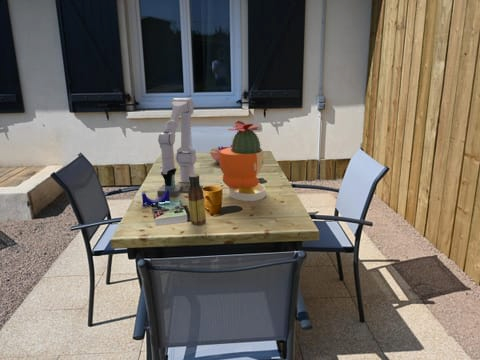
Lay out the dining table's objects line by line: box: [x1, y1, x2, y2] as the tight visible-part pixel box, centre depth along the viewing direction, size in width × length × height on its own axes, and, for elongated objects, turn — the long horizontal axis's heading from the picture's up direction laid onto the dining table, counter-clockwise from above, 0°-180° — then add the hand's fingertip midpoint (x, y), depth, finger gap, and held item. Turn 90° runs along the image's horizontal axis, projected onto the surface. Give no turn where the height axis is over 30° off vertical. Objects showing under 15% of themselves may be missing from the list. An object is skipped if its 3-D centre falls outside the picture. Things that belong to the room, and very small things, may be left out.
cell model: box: [209, 144, 232, 164], centre depth 258 cm, size 17×20×11 cm
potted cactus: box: [219, 120, 266, 202], centre depth 193 cm, size 22×22×35 cm
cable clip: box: [141, 189, 171, 207], centre depth 188 cm, size 12×4×6 cm, turn 106°
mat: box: [181, 185, 204, 194], centre depth 207 cm, size 9×9×1 cm
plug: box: [164, 174, 176, 189], centre depth 202 cm, size 4×4×8 cm
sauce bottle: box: [187, 173, 207, 226], centre depth 162 cm, size 7×6×20 cm
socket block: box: [156, 184, 184, 197], centre depth 203 cm, size 11×10×2 cm
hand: (169, 184), depth 202 cm, fingers closed on plug, 4 cm apart
